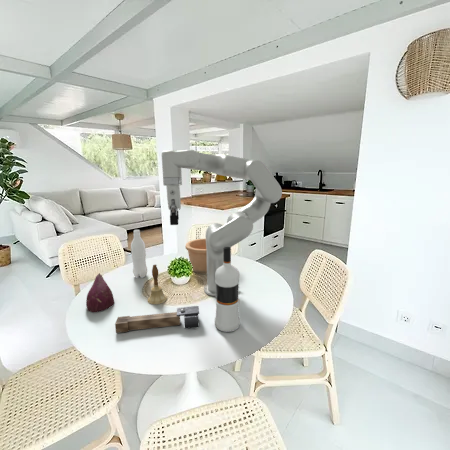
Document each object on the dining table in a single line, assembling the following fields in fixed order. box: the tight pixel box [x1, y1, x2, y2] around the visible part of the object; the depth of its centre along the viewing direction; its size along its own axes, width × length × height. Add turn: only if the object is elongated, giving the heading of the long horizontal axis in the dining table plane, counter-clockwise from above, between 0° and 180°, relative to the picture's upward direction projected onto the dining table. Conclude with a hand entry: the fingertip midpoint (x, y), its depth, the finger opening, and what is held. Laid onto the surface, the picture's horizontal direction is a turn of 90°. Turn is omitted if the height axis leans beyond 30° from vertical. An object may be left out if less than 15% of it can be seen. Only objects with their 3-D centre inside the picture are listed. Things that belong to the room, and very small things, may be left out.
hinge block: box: [176, 305, 200, 330], centre depth 93 cm, size 8×7×6 cm
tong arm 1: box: [114, 315, 181, 333], centre depth 90 cm, size 22×2×4 cm, turn 100°
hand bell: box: [147, 264, 168, 305], centre depth 108 cm, size 8×8×16 cm
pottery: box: [185, 237, 207, 275], centre depth 142 cm, size 22×22×14 cm
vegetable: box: [85, 273, 115, 314], centre depth 105 cm, size 10×10×15 cm
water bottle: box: [130, 229, 148, 279], centre depth 130 cm, size 7×7×25 cm
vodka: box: [214, 246, 241, 333], centre depth 89 cm, size 9×9×30 cm
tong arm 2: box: [116, 311, 177, 321], centre depth 92 cm, size 22×2×4 cm, turn 100°
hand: (174, 222), depth 108 cm, fingers open, 9 cm apart
